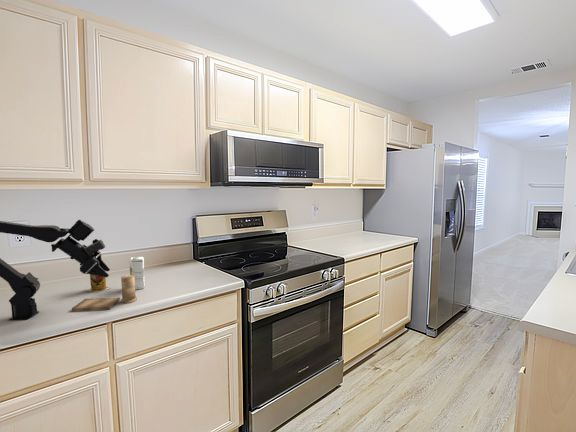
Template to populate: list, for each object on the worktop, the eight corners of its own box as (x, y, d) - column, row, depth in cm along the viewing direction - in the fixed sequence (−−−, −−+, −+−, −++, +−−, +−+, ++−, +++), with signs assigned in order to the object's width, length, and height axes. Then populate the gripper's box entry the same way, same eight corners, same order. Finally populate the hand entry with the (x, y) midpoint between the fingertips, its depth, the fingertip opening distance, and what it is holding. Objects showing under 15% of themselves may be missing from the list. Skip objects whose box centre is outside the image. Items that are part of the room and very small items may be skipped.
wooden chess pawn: (118, 303, 131) (117, 279, 130) (124, 298, 137) (123, 274, 136) (134, 303, 132) (132, 278, 131) (138, 297, 138) (137, 274, 136)
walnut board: (71, 311, 123) (71, 308, 123) (85, 301, 133) (84, 298, 133) (109, 309, 125) (109, 306, 125) (120, 300, 135) (120, 297, 135)
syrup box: (131, 286, 152) (130, 257, 151) (145, 285, 154) (143, 256, 153) (130, 290, 147) (128, 259, 146) (144, 288, 149) (142, 258, 148)
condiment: (95, 293, 143) (93, 267, 142) (84, 290, 147) (83, 265, 146) (110, 288, 150) (109, 263, 149) (100, 285, 154) (98, 261, 153)
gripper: (87, 237, 117) (123, 263, 123) (92, 230, 134) (123, 253, 140) (63, 261, 115) (101, 285, 121) (71, 251, 131) (104, 273, 137)
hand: (108, 273), depth 130 cm, fingers open, 9 cm apart
